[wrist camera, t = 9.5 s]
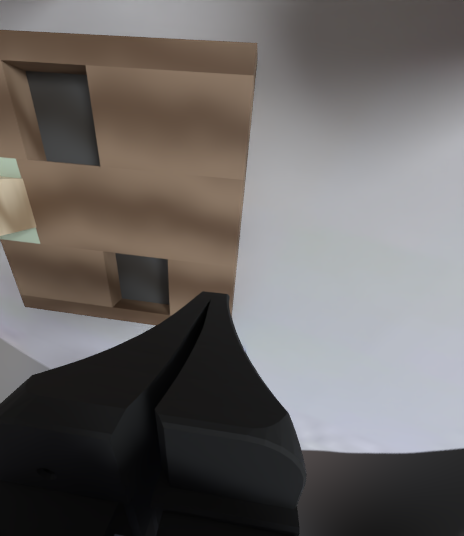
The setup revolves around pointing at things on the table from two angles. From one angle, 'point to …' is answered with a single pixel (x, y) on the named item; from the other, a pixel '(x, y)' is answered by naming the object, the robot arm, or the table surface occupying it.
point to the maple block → (14, 206)
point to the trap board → (125, 169)
